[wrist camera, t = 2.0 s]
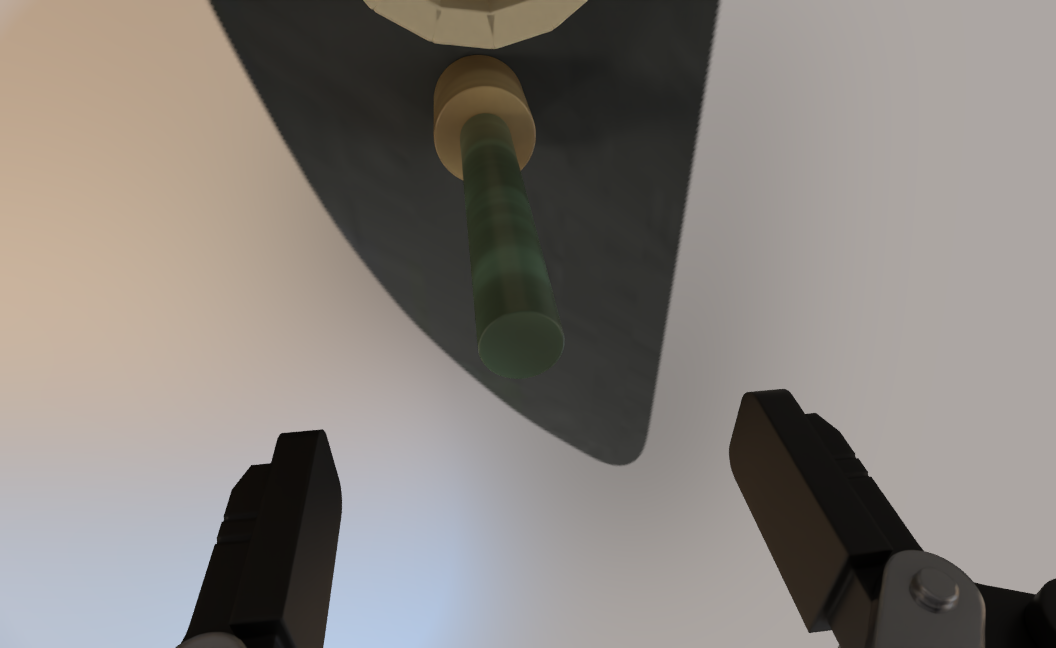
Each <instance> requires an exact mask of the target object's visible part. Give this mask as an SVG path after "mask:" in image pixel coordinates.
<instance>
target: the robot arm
mask: <svg viewBox="0 0 1056 648" xmlns="http://www.w3.org/2000/svg"><path fill="white" fill-rule="evenodd" d="M729 458H730V465H731V469H732V472H733V475H734V477H735V480H736V482H737V484H738V486H739V488H740V490H741V492H742V494H743V496H744V498H745V500H746V503H747V505H748V507H749V509H750V511H751V513H752V515H753V517H754V519H755V521H756V523H757V526H758V528H759V530H760V532H761V534H762V536H763V538H764V540H765V542H766V544H767V546H768V548H769V551H770V552H771V555H772V557H773V559H774V561H775V563H776V565H777V567H778V569H779V571H780V573H781V576H782V578H783V580H784V582H785V584H786V586H787V588H788V590H789V592H790V594H791V596H792V598H793V600H794V603H795V604H796V607H797V609H798V611H799V613H800V615H801V617H802V619H803V621H804V623H805V626H806V628H807V629H808V632H809V633H812V632H820V631H828V630H832V631H833V633H834V635H835V637H836V639H837V641H838V642H839V647H838V648H1056V579H1053V580H1051V581H1049V582H1047V583H1046V584H1045V585H1044V586H1043V587H1042V588H1041V590H1040V591H1039V592H1038V593H1037V594H1030V593H1025V592H1019V591H1014V590H1009V589H1003V588H998V587H992V586H987V585H982V584H978V583H974V582H973V581H972V580H971V579H970V578H969V577H968V576H967V575H966V574H965V573H964V572H963V571H962V570H961V569H960V568H958V567H957V566H955V565H954V564H953V563H951V562H949V561H948V560H946V559H944V558H942V557H939V556H937V555H935V554H932V553H929V552H924V551H923V549H922V548H921V547H920V546H919V544H918V543H917V542H916V540H915V539H914V537H913V536H912V534H911V533H910V532H909V530H908V529H907V527H906V526H905V524H904V523H903V522H902V520H901V519H900V517H899V516H898V514H897V513H896V511H895V510H894V509H893V507H892V506H891V505H890V503H889V501H888V500H887V499H886V497H885V496H884V494H883V493H882V492H881V490H880V489H879V487H878V486H877V484H876V483H875V481H874V480H873V479H872V477H869V476H868V471H867V470H866V469H865V467H864V466H863V464H862V463H861V461H860V460H859V459H858V458H857V459H856V457H855V453H854V451H853V450H852V449H851V447H850V446H849V444H848V443H847V441H846V440H845V439H844V437H843V436H842V434H841V433H840V432H839V431H838V430H837V429H836V428H834V427H833V426H832V425H831V424H829V423H828V422H827V421H825V420H824V419H823V418H822V417H820V416H819V415H818V414H816V413H811V414H804V412H803V410H802V409H801V407H800V406H799V404H798V403H797V402H796V400H795V398H794V397H793V396H792V394H791V393H790V392H789V391H788V390H786V389H777V390H767V391H755V392H747V393H745V394H744V395H743V397H742V400H741V405H740V408H739V411H738V416H737V419H736V423H735V427H734V431H733V434H732V438H731V442H730V446H729ZM341 513H342V495H341V486H340V481H339V477H338V474H337V470H336V467H335V464H334V460H333V456H332V453H331V450H330V446H329V442H328V439H327V436H326V433H325V432H324V430H312V431H302V432H290V433H281V434H280V435H279V437H278V439H277V443H276V447H275V450H274V454H273V458H272V462H271V463H270V464H260V465H251V467H250V468H249V469H248V470H247V471H246V473H245V474H244V475H243V476H242V478H241V479H240V480H239V482H238V483H237V484H236V485H235V487H234V488H233V489H232V491H231V495H230V498H229V502H228V504H227V508H226V511H225V514H224V522H222V524H221V526H220V530H219V533H218V536H217V544H215V546H214V549H213V552H212V555H211V559H210V561H209V565H208V568H207V571H206V574H205V578H204V581H203V584H202V587H201V590H200V593H199V597H198V600H197V603H196V606H195V609H194V612H193V616H192V619H191V622H190V625H189V628H188V630H187V633H186V635H185V637H184V639H183V641H182V642H181V644H180V645H178V646H177V647H176V648H323V645H324V638H325V631H326V623H327V616H328V609H329V601H330V594H331V587H332V580H333V573H334V565H335V558H336V551H337V543H338V536H339V529H340V522H341Z"/></svg>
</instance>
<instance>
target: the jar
mask: <svg viewBox="0 0 1056 648" xmlns="http://www.w3.org/2000/svg"><path fill="white" fill-rule="evenodd" d="M363 1H364V2H365V3H366V4H367V5H368V6H369V8H371V9H374V11H375V12H376V13H378V14H380V15H382V16H384V17H385V18H387V19H389V20H391V21H393V22H395V23H396V24H398V25H400V26H402V27H404V28H406V29H407V30H409V31H411V32H413V33H415V34H417V35H419V36H420V37H422V38H424V39H426V40H428V41H433V43H436V44H446V45H456V46H466V47H476V48H486V49H497V48H501V47H504V46H507V45H510V44H513V43H516V42H519V41H522V40H525V39H528V38H531V37H534V36H537V35H540V34H543V33H547V32H550V31H552V30H553V29H555V28H556V27H558V26H559V25H560V24H561V23H562V22H563V21H565V20H566V19H567V18H568V17H569V16H570V15H572V14H573V13H574V12H575V11H576V10H577V9H578V8H580V7H581V6H582V5H583V4H584V3H585V2H587V1H588V0H363Z"/></svg>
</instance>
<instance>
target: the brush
mask: <svg viewBox="0 0 1056 648" xmlns="http://www.w3.org/2000/svg"><path fill="white" fill-rule="evenodd" d="M535 141H536V130H535V124H534V120H533V117H532V115H531V112H530V109H529V106H528V104H527V101H526V98H525V95H524V92H523V90H522V87H521V84H520V82H519V80H518V78H517V76H516V75H515V73H514V72H513V71H512V70H511V69H510V68H509V67H508V66H507V65H506V64H505V63H503V62H502V61H500V60H498V59H496V58H493V57H490V56H485V55H471V56H467V57H463V58H461V59H459V60H457V61H455V62H453V63H452V64H451V65H450V66H448V67H447V68H446V69H445V71H444V72H443V73H442V75H441V76H440V78H439V80H438V82H437V85H436V88H435V92H434V143H435V148H436V151H437V154H438V156H439V158H440V160H441V162H442V163H443V165H444V166H445V167H446V168H447V169H448V170H449V171H450V172H451V173H452V174H453V175H455V176H456V177H458V178H460V179H461V180H463V182H464V194H465V205H466V217H467V228H468V239H469V251H470V262H471V274H472V285H473V297H474V308H475V320H476V331H477V343H478V352H479V356H480V358H481V360H482V362H483V363H484V364H485V366H486V367H487V368H488V369H490V370H491V371H492V372H494V373H496V374H498V375H500V376H503V377H507V378H514V379H522V378H529V377H533V376H536V375H539V374H541V373H543V372H545V371H546V370H548V369H549V368H551V367H552V366H553V365H554V364H555V363H556V362H557V361H558V359H559V358H560V356H561V354H562V352H563V348H564V343H565V340H564V334H563V330H562V326H561V322H560V318H559V315H558V311H557V307H556V303H555V300H554V296H553V292H552V288H551V284H550V281H549V277H548V273H547V269H546V265H545V262H544V258H543V254H542V250H541V247H540V243H539V239H538V235H537V231H536V228H535V224H534V220H533V216H532V213H531V209H530V205H529V201H528V197H527V194H526V190H525V186H524V182H523V179H522V175H521V170H522V169H523V167H524V166H525V165H526V164H527V162H528V161H529V159H530V157H531V155H532V153H533V150H534V146H535Z"/></svg>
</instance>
